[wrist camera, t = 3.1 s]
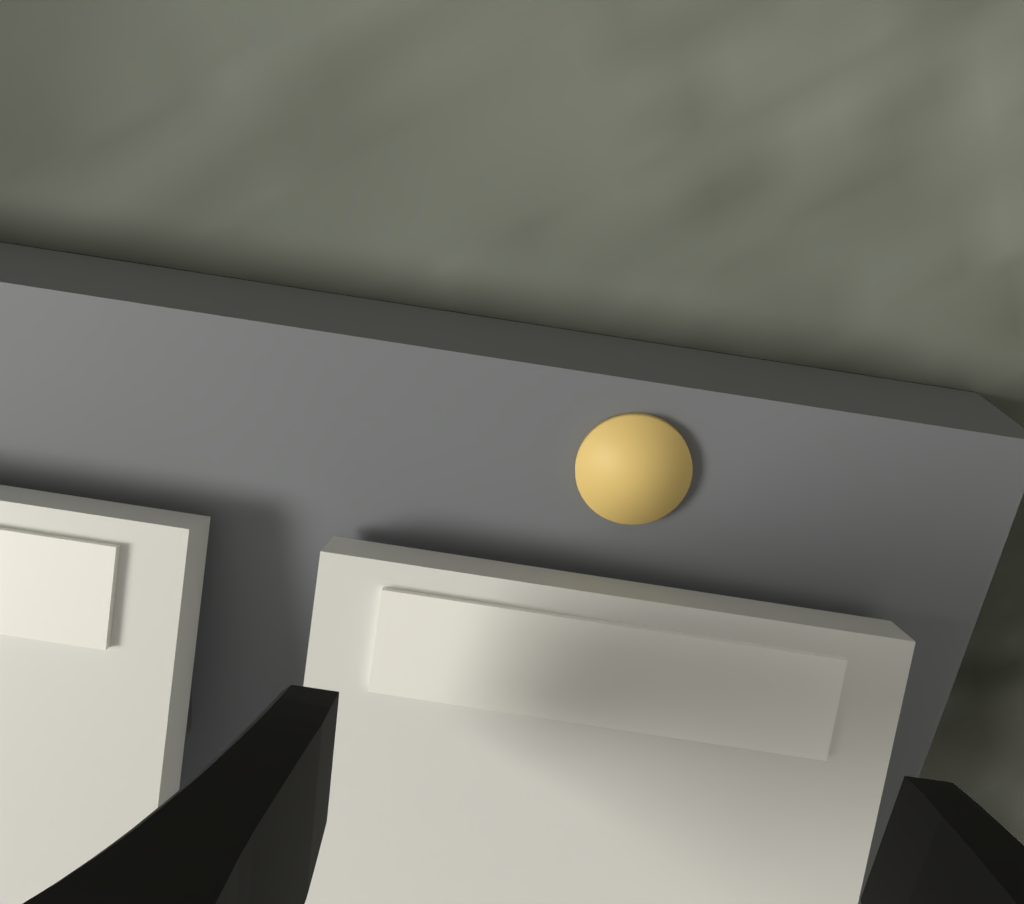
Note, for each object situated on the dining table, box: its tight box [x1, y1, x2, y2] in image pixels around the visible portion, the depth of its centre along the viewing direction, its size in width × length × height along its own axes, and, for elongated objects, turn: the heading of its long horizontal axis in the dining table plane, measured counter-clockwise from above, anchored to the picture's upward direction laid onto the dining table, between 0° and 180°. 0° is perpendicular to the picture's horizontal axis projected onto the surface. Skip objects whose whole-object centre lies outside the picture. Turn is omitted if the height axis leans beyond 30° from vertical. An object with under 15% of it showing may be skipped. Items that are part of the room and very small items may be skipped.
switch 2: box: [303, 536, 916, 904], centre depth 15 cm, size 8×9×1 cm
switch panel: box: [0, 242, 1024, 904], centre depth 18 cm, size 14×23×3 cm, turn 82°
